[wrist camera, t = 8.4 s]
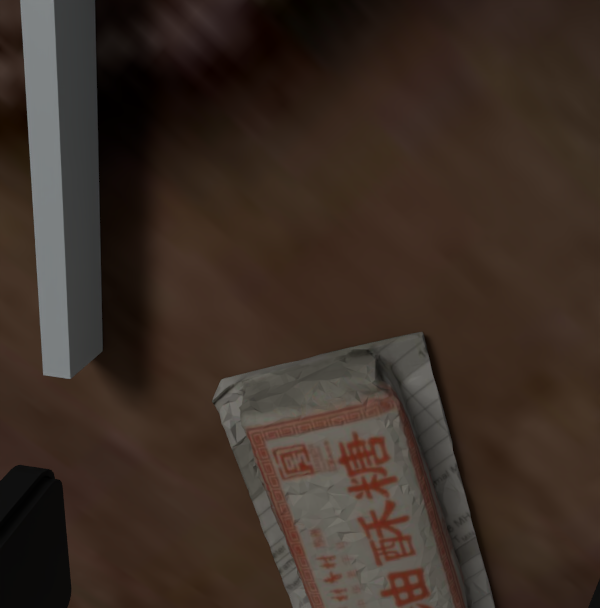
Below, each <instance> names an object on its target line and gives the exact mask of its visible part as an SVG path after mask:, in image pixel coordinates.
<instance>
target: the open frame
mask: <svg viewBox="0 0 600 608" xmlns="http://www.w3.org/2000/svg"><path fill="white" fill-rule="evenodd" d="M20 2H21V18H22V35H23V51H24V67H25V83H26V100H27V116H28V132H29V148H30V165H31V181H32V197H33V213H34V230H35V246H36V262H37V279H38V295H39V311H40V327H41V344H42V360H43V375H47V376H54V377H61V378H68V379H71V378H72V377H73V376H74V375H76V374H77V373H78V372H79V371H80V370H81V369H83V368H84V367H85V366H86V365H87V364H88V363H89V362H91V361H92V360H93V359H94V358H95V357H96V356H98V355H99V354H100V353H101V352H102V351H103V338H102V293H101V248H100V204H99V159H98V114H97V70H96V25H95V0H20Z"/></svg>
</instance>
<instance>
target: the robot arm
mask: <svg viewBox="0 0 600 608" xmlns="http://www.w3.org/2000/svg"><path fill="white" fill-rule="evenodd" d="M70 597H71V579H70V568H69V556H68V545H67V533H66V522H65V510H64V499H63V487H62V482H61V481H60V480H58V479H55V477H54V473H53V472H52V470H49V469H43V468H36V467H30V466H23V465H18V466H15V467H14V468H13V469H11V470H10V471H9V472H8V473H7V475H6V476H5V477H4V478H3V479H2V480H1V481H0V608H67V607H68V604H69V601H70ZM588 608H600V580H599V582H598V585H597V587H596V590H595V592H594V595H593V597H592V600H591V602H590V605H589V607H588Z"/></svg>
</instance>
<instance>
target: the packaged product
mask: <svg viewBox="0 0 600 608" xmlns="http://www.w3.org/2000/svg"><path fill="white" fill-rule="evenodd" d="M212 402H213V403H214V405H215V407H216V408H217V410H218V412H219V413H220V418H221V422H222V425H223V427H224V429H225V431H226V434H227V437H228V439H229V442H230V445H231V448H232V450H233V453H234V455H235V458H236V460H237V463H238V465H239V468H240V470H241V473H242V476H243V478H244V481H245V483H246V486H247V488H248V490H249V494H250V498H251V499H252V501H253V504H254V507H255V510H256V512H257V514H258V517H259V520H260V523H261V527H262V530H263V532H264V535H265V537H266V539H267V541H268V543H269V544H270V548H271V552H272V555H273V557H274V560H275V562H276V565H277V567H278V570H279V572H280V575H281V577H282V580H283V583H284V586H285V588H286V590H287V592H288V594H289V596H290V600H291V603H292V606H293V608H495V605H494V601H493V596H492V592H491V588H490V584H489V580H488V577H487V574H486V570H485V567H484V563H483V560H482V556H481V553H480V549H479V546H478V542H477V539H476V535H475V531H474V528H473V524H472V521H471V516H470V511H469V507H468V503H467V499H466V496H465V492H464V488H463V484H462V480H461V477H460V473H459V470H458V466H457V462H456V459H455V456H454V453H453V446H452V440H451V436H450V433H449V429H448V425H447V421H446V418H445V414H444V410H443V406H442V403H441V399H440V396H439V392H438V389H437V386H436V383H435V380H434V377H433V374H432V369H431V364H430V360H429V355H428V351H427V347H426V343H425V338H424V334H423V332H418V333H413V334H408V335H404V336H399V337H394V338H390V339H385V340H381V341H377V342H372V343H368V344H363V345H359V346H355V347H350V348H346V349H342V350H337V351H333V352H329V353H325V354H321V355H317V356H314V357H310V358H307V359H304V360H300V361H295V362H290V363H285V364H281V365H277V366H273V367H269V368H265V369H261V370H257V371H253V372H249V373H245V374H241V375H237V376H233V377H229V378H225V379H222V380H221V381H220V383H219V386H218V388H217V390H216V393H215V395H214V397H213V400H212Z"/></svg>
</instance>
